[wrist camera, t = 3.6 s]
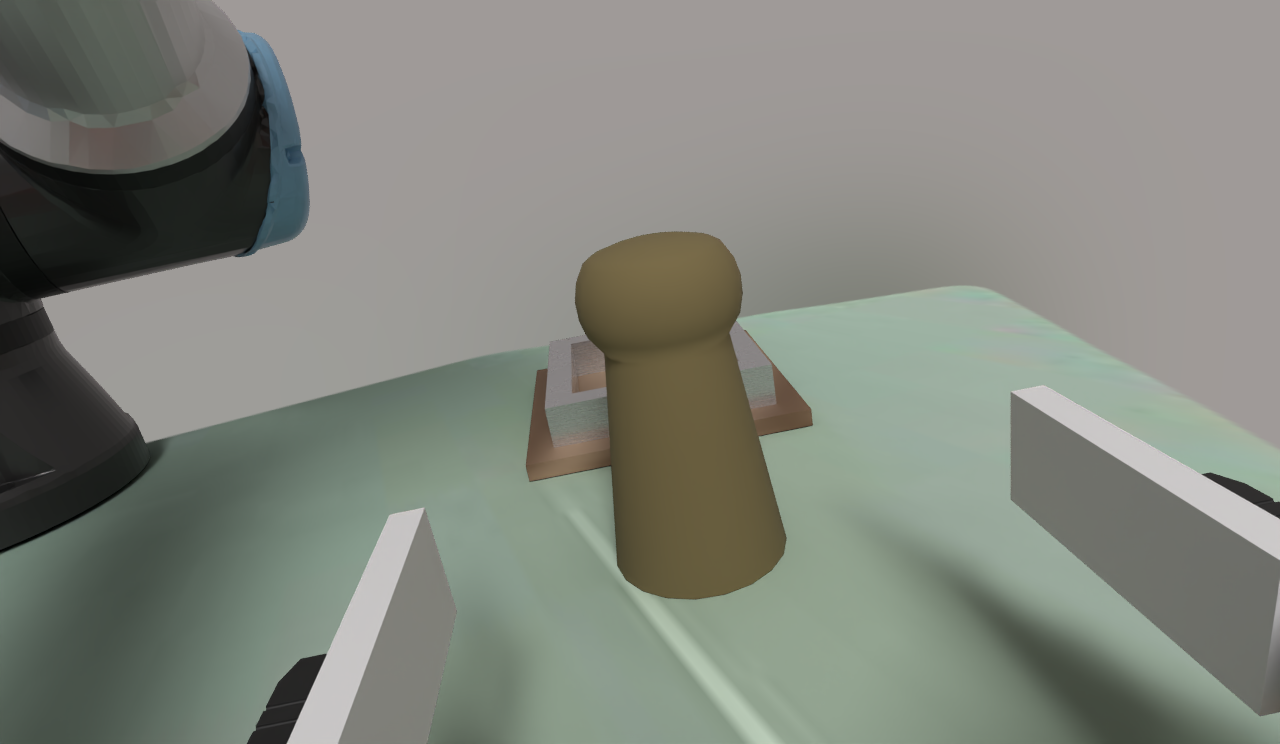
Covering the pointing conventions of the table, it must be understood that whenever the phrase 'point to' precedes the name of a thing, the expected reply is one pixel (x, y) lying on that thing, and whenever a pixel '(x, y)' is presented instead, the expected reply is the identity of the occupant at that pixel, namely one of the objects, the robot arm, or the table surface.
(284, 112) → the robot arm
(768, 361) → the coaster
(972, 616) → the table surface
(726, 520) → the cork
